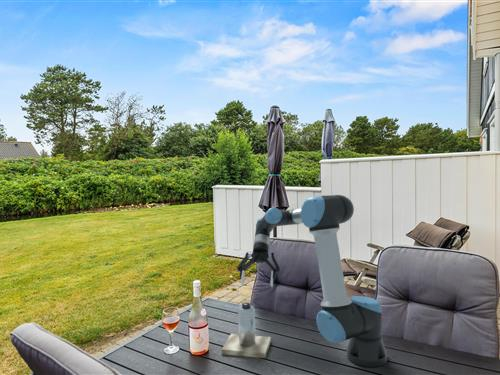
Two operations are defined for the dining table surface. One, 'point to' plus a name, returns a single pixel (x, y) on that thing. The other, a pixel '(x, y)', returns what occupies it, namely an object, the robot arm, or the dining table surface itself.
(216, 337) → the dining table surface
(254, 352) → the birch board
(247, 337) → the steel bottle
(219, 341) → the dining table surface
